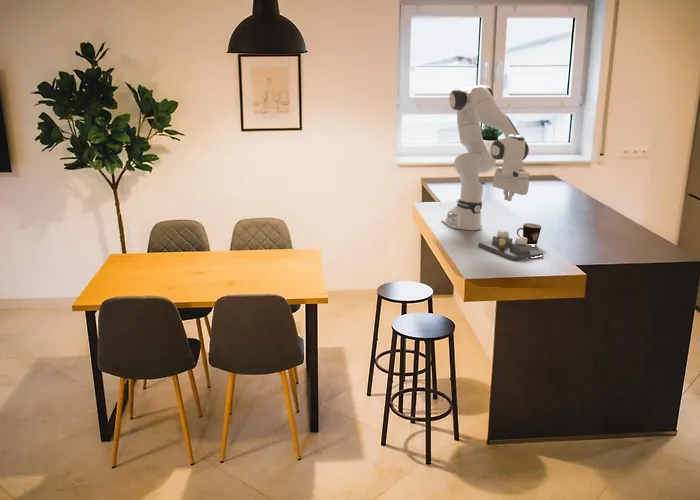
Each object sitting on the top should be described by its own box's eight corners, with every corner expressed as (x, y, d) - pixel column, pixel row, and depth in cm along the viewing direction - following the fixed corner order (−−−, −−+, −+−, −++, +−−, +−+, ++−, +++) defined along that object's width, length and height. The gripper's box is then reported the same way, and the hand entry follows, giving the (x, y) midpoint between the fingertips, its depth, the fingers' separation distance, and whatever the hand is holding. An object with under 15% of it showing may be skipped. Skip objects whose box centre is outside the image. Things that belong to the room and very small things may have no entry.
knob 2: (511, 249, 330) (513, 236, 328) (519, 248, 333) (521, 235, 331) (519, 252, 326) (521, 239, 324) (528, 251, 328) (529, 238, 327)
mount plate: (478, 246, 340) (479, 235, 338) (506, 243, 349) (508, 232, 348) (513, 260, 320) (515, 248, 319) (542, 257, 329) (544, 245, 328)
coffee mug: (537, 244, 353) (540, 224, 350) (539, 248, 344) (542, 228, 342) (513, 241, 354) (515, 221, 351) (515, 246, 345) (517, 226, 343)
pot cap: (497, 248, 332) (498, 237, 330) (501, 247, 333) (503, 237, 332) (501, 249, 330) (502, 239, 328) (506, 249, 331) (507, 239, 330)
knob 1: (493, 242, 340) (495, 230, 338) (502, 242, 342) (503, 229, 341) (501, 245, 336) (503, 232, 334) (509, 245, 338) (511, 232, 337)
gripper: (491, 166, 337) (487, 195, 340) (522, 175, 320) (517, 205, 324) (501, 166, 340) (497, 195, 344) (532, 174, 323) (528, 205, 327)
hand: (507, 200), depth 334 cm, fingers closed
